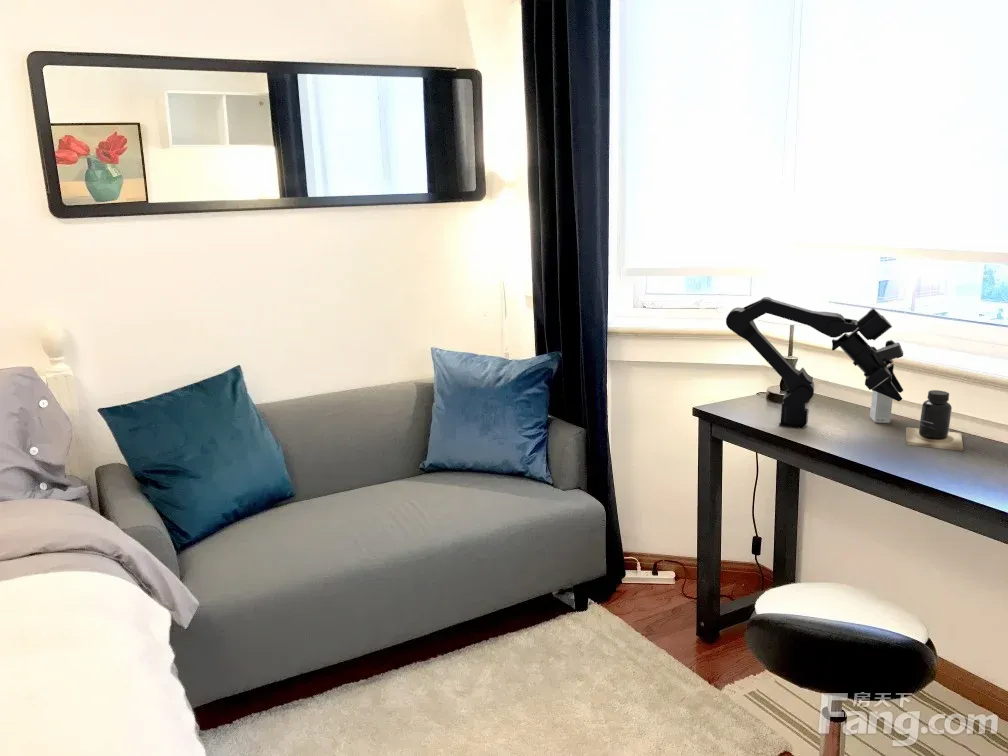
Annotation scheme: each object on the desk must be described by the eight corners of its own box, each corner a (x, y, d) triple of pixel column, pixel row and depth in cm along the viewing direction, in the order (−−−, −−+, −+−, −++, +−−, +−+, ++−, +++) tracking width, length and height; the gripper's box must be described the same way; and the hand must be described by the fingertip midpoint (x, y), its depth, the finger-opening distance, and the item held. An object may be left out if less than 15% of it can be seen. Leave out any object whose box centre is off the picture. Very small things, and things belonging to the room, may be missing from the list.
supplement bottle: (918, 438, 208) (923, 394, 205) (918, 431, 214) (923, 387, 211) (948, 441, 205) (954, 396, 202) (947, 434, 211) (952, 390, 208)
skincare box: (890, 423, 224) (894, 382, 221) (874, 422, 225) (878, 381, 222) (885, 417, 230) (889, 376, 227) (869, 416, 231) (873, 376, 228)
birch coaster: (905, 444, 207) (905, 441, 207) (906, 430, 218) (906, 426, 218) (963, 450, 201) (963, 447, 201) (960, 435, 212) (960, 432, 212)
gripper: (883, 339, 202) (927, 385, 199) (887, 326, 218) (928, 369, 215) (847, 366, 207) (889, 412, 205) (853, 352, 223) (893, 394, 221)
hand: (901, 395), depth 211 cm, fingers open, 9 cm apart
